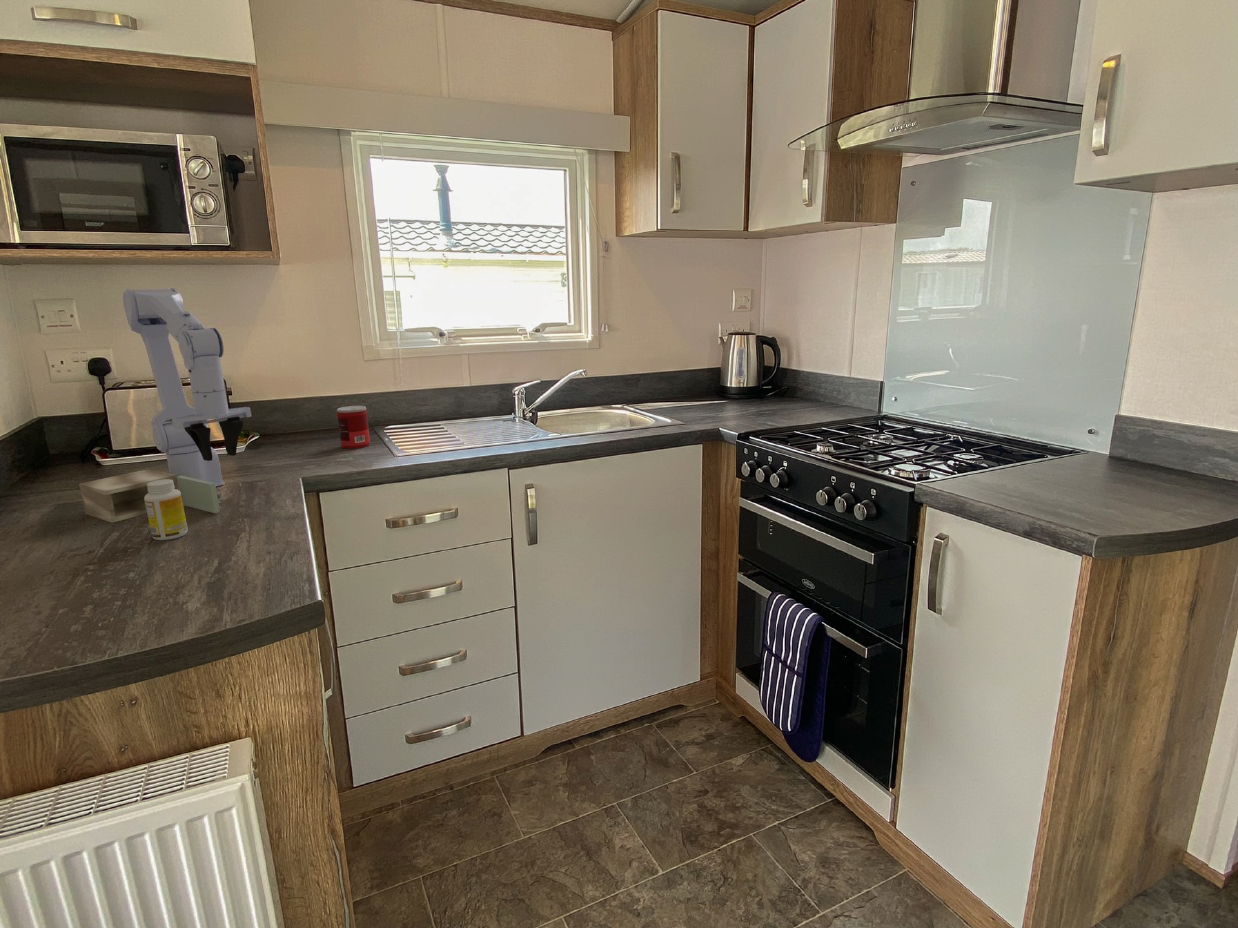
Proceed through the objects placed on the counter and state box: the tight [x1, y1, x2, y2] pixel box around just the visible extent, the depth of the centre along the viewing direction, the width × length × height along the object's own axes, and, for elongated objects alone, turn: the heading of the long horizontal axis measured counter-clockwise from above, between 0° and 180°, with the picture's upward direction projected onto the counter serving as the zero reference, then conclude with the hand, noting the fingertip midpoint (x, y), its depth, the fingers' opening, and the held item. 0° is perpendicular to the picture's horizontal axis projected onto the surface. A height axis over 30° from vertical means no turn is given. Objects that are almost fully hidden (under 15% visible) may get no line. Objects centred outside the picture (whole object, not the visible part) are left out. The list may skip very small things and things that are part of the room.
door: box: [177, 476, 222, 514], centre depth 139 cm, size 12×2×6 cm, turn 59°
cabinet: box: [79, 468, 179, 523], centre depth 140 cm, size 13×11×6 cm
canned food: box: [336, 405, 371, 450], centre depth 194 cm, size 8×8×11 cm
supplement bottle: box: [144, 479, 189, 541], centre depth 123 cm, size 6×6×10 cm
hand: (220, 457), depth 139 cm, fingers open, 4 cm apart
